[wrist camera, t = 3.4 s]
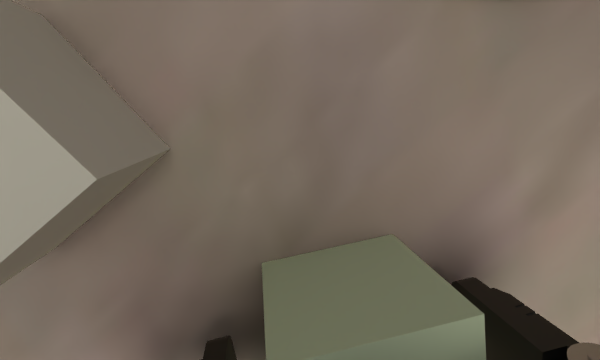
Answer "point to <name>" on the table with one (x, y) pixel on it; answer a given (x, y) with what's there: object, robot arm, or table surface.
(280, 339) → the green cube
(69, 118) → the grey cube
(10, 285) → the table surface
